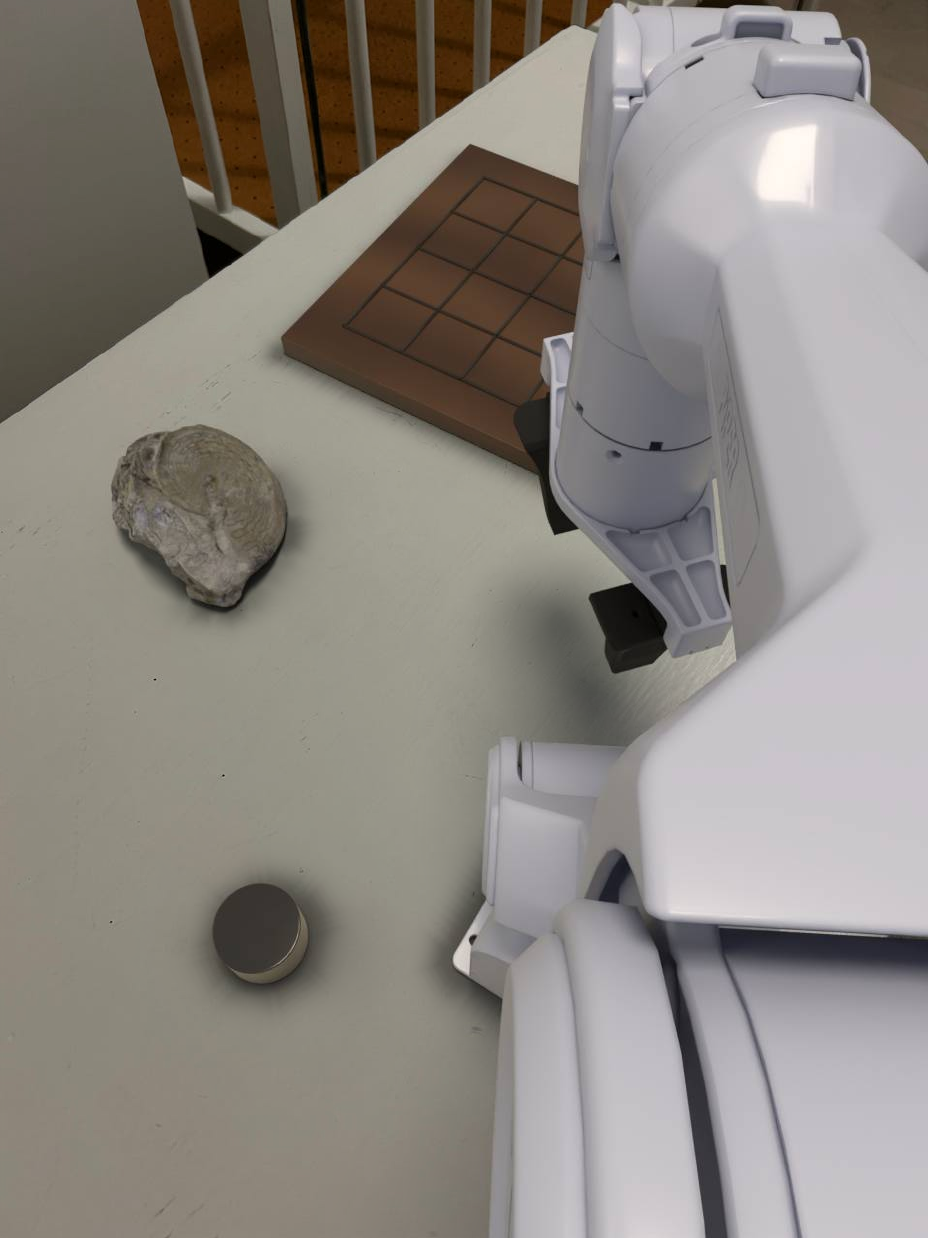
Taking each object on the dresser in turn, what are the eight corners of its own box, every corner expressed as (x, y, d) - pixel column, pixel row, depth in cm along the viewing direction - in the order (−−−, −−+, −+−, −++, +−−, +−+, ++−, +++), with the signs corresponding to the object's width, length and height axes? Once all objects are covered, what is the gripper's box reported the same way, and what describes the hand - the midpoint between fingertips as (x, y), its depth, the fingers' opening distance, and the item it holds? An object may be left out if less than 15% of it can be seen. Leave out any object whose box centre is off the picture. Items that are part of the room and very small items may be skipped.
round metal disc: (274, 1001, 45) (264, 992, 42) (206, 954, 46) (192, 942, 43) (325, 925, 46) (318, 912, 44) (258, 881, 47) (247, 866, 45)
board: (603, 505, 59) (607, 489, 57) (283, 353, 65) (279, 335, 63) (758, 273, 69) (764, 254, 68) (469, 160, 75) (469, 141, 74)
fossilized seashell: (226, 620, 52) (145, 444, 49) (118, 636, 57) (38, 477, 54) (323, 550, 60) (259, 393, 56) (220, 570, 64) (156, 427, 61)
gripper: (860, 526, 30) (746, 705, 42) (675, 224, 37) (622, 451, 49) (649, 583, 29) (594, 749, 41) (499, 261, 36) (489, 484, 48)
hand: (600, 590), depth 45 cm, fingers open, 7 cm apart
